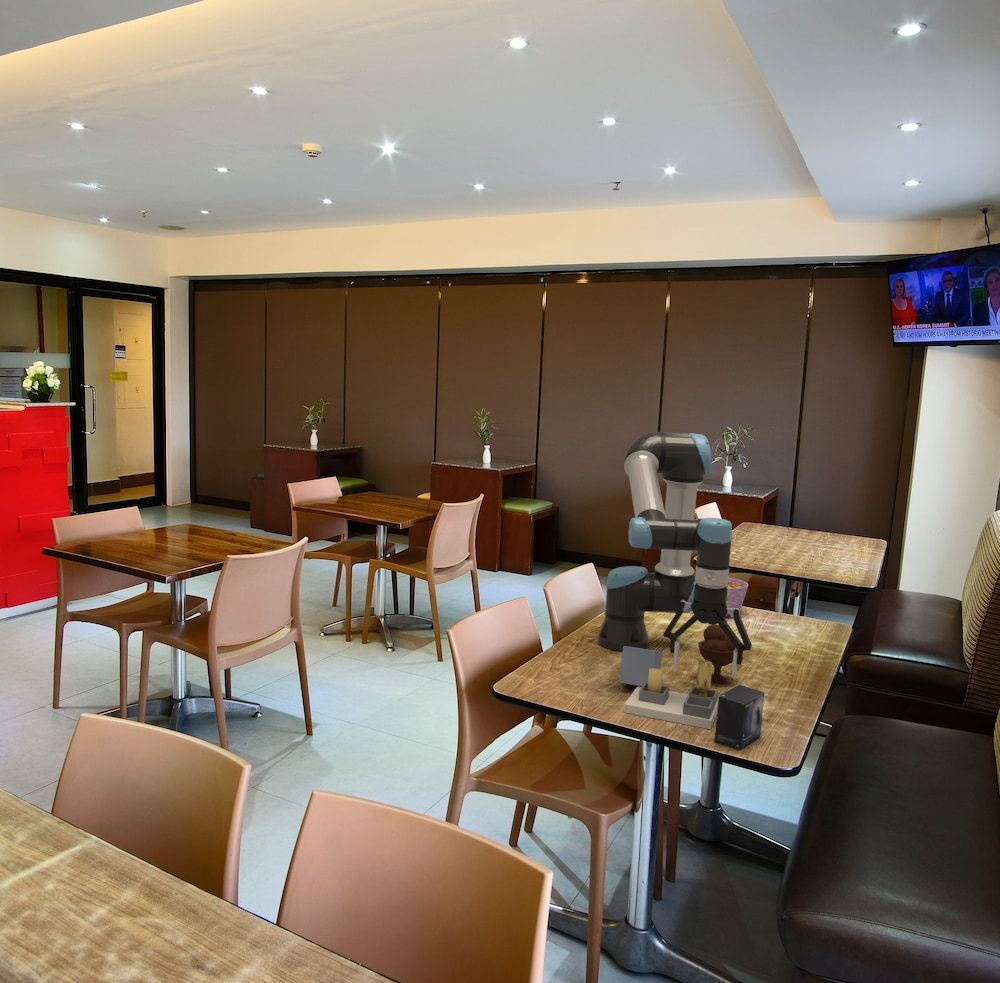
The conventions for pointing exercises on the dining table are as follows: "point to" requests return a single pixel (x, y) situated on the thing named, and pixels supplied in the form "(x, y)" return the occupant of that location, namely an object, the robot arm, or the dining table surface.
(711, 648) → the ice cream bowl
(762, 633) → the dining table surface
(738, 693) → the small box
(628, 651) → the cover
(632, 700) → the pin board
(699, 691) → the brass pin
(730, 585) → the bowl of food
